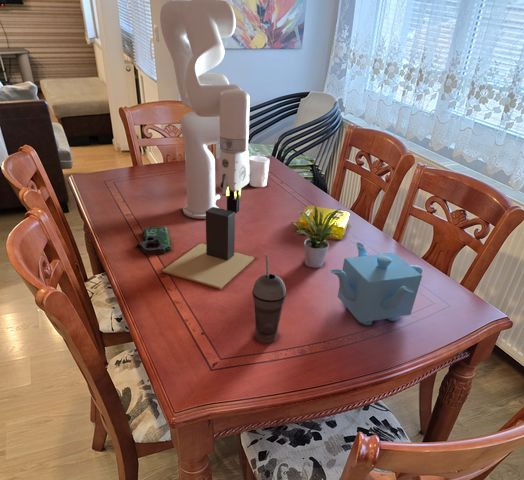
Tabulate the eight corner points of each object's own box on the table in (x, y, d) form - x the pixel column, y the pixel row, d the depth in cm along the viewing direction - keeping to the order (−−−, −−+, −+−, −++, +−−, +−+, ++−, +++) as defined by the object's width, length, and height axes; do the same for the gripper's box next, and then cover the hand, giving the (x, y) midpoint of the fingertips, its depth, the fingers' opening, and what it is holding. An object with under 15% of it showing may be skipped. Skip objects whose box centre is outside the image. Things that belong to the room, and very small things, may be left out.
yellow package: (305, 216, 163) (307, 203, 160) (348, 223, 160) (350, 210, 157) (296, 233, 151) (297, 219, 148) (342, 241, 149) (344, 226, 146)
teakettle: (415, 305, 120) (431, 252, 111) (399, 342, 107) (415, 286, 98) (345, 285, 126) (355, 234, 117) (321, 319, 112) (330, 264, 103)
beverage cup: (271, 350, 102) (278, 268, 89) (243, 338, 104) (246, 257, 92) (287, 334, 107) (296, 255, 94) (260, 323, 109) (266, 245, 97)
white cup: (267, 188, 184) (269, 162, 177) (247, 187, 183) (248, 161, 177) (267, 182, 190) (269, 156, 184) (248, 180, 190) (249, 155, 183)
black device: (213, 249, 137) (213, 206, 129) (234, 255, 135) (235, 211, 127) (206, 254, 134) (205, 211, 126) (227, 260, 132) (228, 216, 124)
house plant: (313, 246, 144) (320, 194, 134) (348, 263, 137) (358, 208, 127) (281, 259, 136) (286, 205, 126) (317, 278, 128) (325, 221, 118)
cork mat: (200, 244, 141) (200, 242, 140) (254, 259, 135) (254, 257, 135) (162, 272, 126) (162, 270, 126) (220, 289, 121) (220, 287, 120)
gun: (134, 227, 145) (167, 225, 147) (135, 231, 145) (167, 230, 148) (136, 250, 132) (172, 248, 134) (137, 255, 133) (172, 253, 135)
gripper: (233, 152, 116) (232, 223, 127) (259, 140, 127) (256, 206, 138) (207, 147, 118) (208, 217, 129) (234, 135, 129) (233, 201, 140)
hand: (233, 211), depth 133 cm, fingers closed
